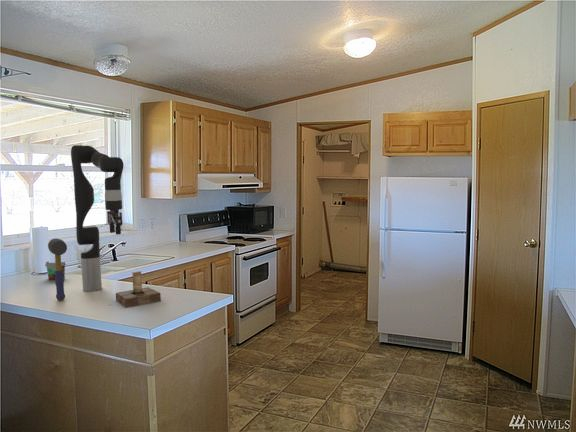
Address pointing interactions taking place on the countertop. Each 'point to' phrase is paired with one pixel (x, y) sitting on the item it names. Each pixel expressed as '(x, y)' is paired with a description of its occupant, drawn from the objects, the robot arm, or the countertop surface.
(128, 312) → the countertop surface
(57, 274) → the rubber mallet
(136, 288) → the oak peg
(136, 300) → the walnut board
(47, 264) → the food container
